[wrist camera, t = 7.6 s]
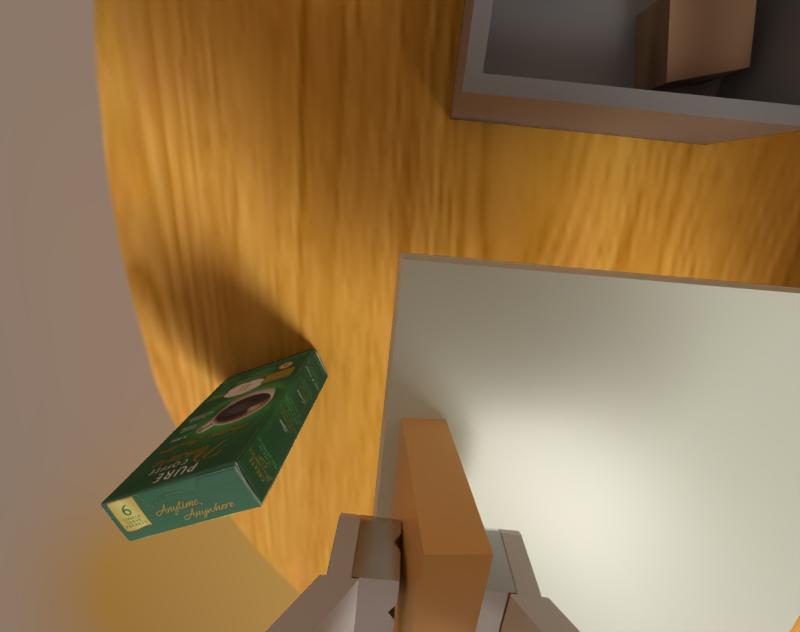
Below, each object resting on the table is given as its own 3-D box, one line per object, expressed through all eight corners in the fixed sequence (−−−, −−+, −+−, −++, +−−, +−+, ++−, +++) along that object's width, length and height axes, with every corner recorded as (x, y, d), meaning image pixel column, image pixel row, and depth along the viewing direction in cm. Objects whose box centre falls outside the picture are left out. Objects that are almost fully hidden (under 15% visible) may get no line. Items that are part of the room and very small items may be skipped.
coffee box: (240, 406, 31) (124, 550, 19) (223, 377, 31) (90, 506, 18) (330, 377, 30) (269, 509, 18) (315, 345, 29) (239, 460, 17)
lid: (898, 292, 12) (1321, 376, 7) (742, 591, 17) (929, 791, 11) (396, 247, 10) (432, 313, 5) (362, 598, 15) (361, 844, 9)
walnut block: (713, 0, 21) (759, -30, 18) (706, 82, 22) (749, 66, 19) (636, 15, 21) (670, -11, 18) (634, 96, 22) (666, 82, 20)
